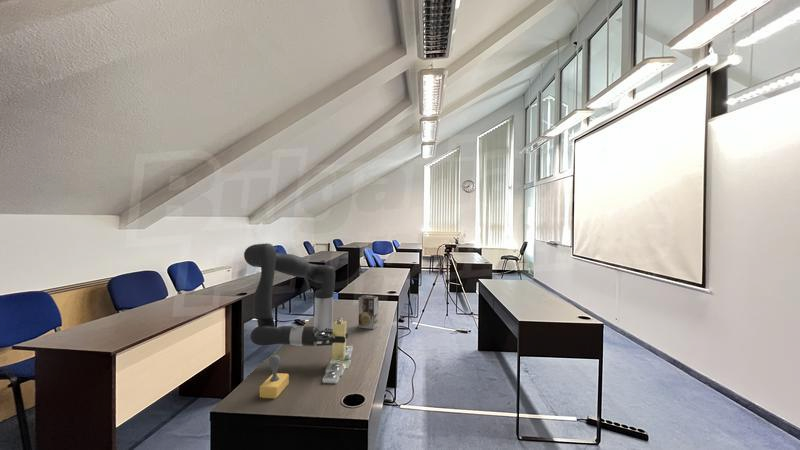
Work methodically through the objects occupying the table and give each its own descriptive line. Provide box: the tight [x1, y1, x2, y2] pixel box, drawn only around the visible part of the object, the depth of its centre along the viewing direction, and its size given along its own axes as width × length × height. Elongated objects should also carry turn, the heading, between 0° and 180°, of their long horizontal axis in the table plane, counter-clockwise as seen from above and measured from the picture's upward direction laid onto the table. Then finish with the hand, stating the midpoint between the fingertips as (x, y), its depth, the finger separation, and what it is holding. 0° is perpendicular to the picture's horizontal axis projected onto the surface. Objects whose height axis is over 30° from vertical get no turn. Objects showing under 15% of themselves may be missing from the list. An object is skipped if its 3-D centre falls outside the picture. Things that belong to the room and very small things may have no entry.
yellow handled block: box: [259, 354, 290, 400], centre depth 116 cm, size 10×6×12 cm, turn 175°
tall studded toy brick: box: [331, 317, 348, 360], centre depth 137 cm, size 4×4×15 cm
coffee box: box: [358, 294, 379, 330], centre depth 185 cm, size 9×6×16 cm
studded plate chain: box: [322, 344, 354, 384], centre depth 137 cm, size 32×8×3 cm, turn 178°
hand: (346, 337), depth 137 cm, fingers closed on tall studded toy brick, 4 cm apart
